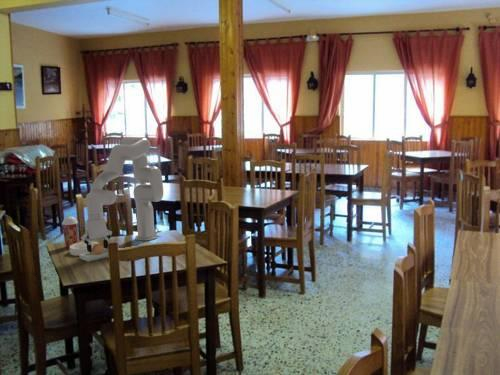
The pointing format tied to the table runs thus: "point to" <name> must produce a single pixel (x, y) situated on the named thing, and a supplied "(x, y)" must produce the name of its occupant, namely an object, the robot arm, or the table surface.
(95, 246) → the ball
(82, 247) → the bowl
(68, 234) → the smoothie
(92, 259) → the tray
